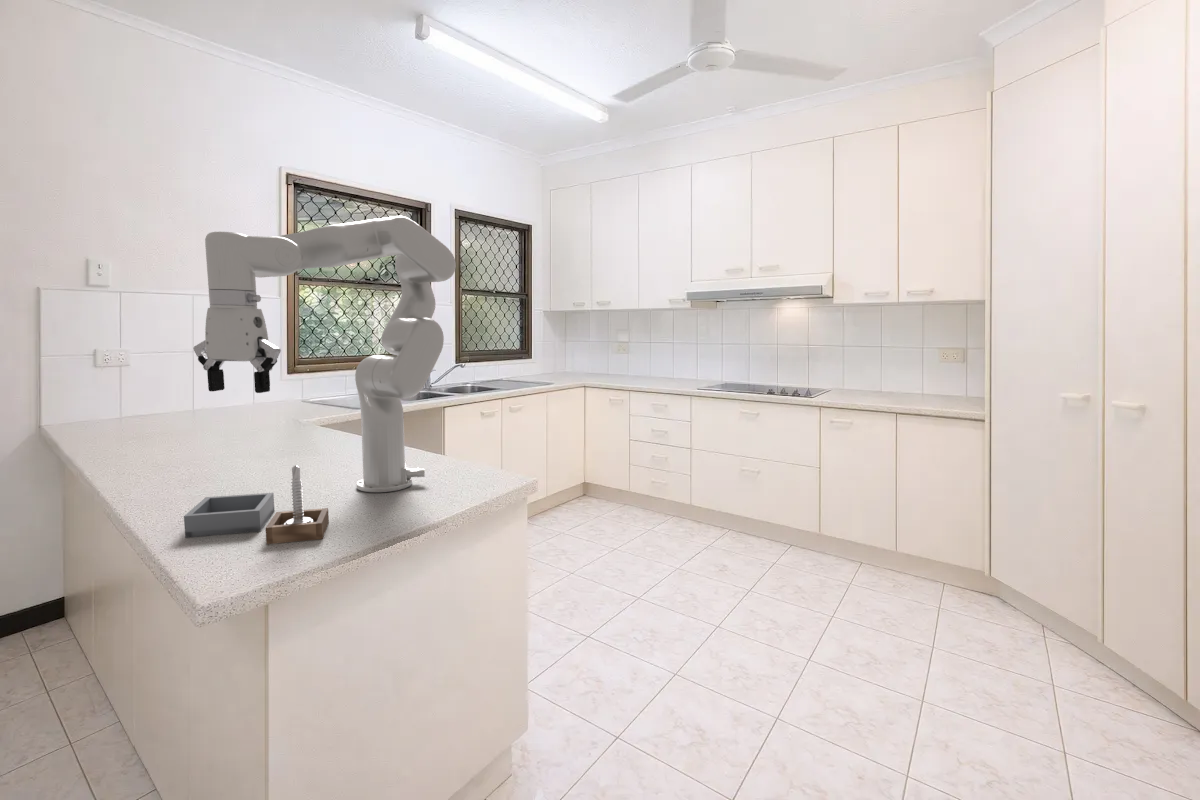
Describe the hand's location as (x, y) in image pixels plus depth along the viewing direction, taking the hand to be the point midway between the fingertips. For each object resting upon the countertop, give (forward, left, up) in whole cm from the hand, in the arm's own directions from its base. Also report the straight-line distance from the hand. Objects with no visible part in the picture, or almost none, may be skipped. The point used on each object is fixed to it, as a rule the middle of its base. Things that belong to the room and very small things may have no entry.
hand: (239, 391), depth 109 cm
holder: (-11, +10, -26) cm, 30 cm away
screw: (-11, +10, -26) cm, 30 cm away
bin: (+2, +1, -26) cm, 26 cm away
